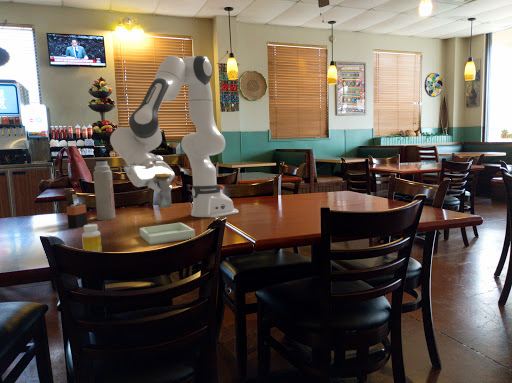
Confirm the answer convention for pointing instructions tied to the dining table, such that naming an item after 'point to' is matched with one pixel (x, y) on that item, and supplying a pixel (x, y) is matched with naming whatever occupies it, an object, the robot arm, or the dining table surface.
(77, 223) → the battery
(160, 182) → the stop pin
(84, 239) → the supplement bottle
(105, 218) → the thermos bottle
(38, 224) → the dining table surface
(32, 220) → the dining table surface
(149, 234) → the tray
